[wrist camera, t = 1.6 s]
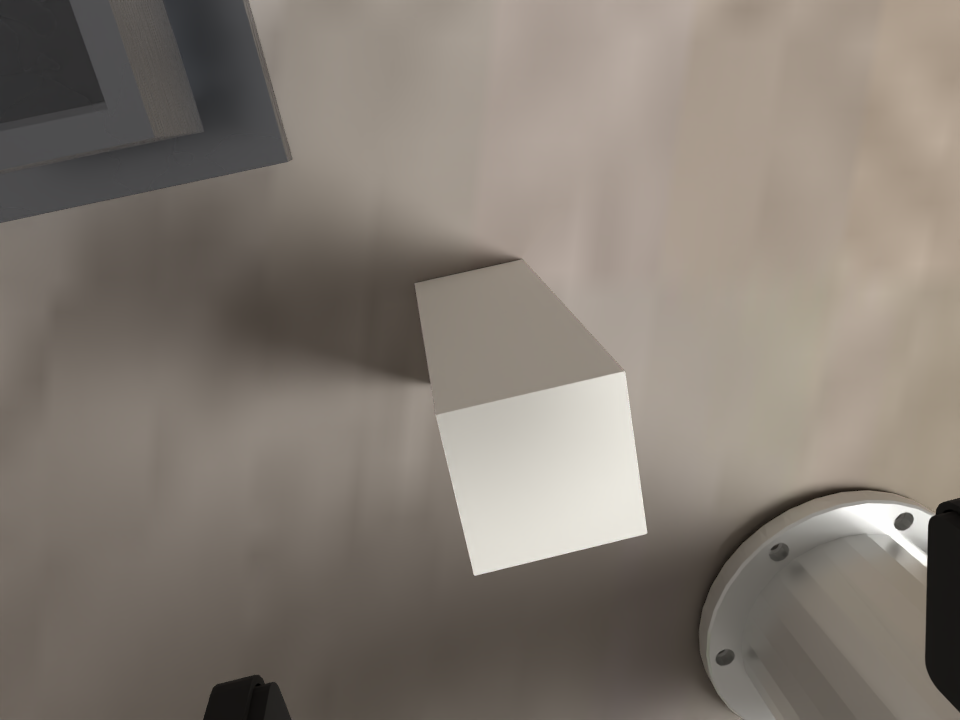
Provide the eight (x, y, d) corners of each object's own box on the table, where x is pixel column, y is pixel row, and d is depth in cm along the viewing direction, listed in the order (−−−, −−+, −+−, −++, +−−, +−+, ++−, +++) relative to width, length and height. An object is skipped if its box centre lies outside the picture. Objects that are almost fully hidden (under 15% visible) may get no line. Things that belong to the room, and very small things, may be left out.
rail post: (522, 259, 26) (625, 371, 15) (541, 361, 28) (647, 533, 16) (414, 283, 26) (435, 414, 15) (438, 384, 28) (474, 575, 16)
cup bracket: (194, -196, 21) (50, -424, 12) (292, 159, 24) (237, 188, 15) (-162, -130, 20) (-588, -315, 11) (-10, 223, 24) (-249, 291, 15)
